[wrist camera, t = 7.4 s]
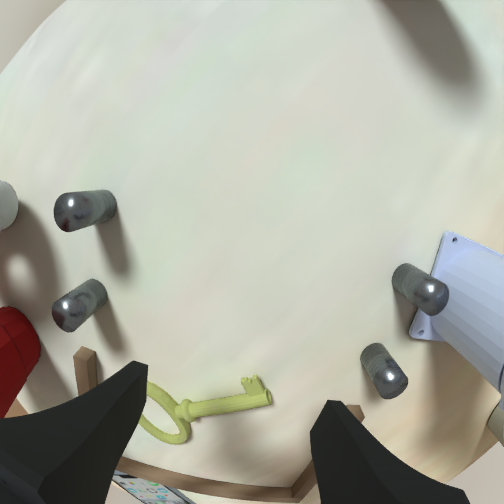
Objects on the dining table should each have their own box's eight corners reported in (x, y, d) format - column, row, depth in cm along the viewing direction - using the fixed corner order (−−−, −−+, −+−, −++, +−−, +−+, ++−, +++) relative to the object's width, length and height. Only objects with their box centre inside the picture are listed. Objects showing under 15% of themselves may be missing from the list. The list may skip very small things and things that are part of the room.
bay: (359, 405, 20) (364, 417, 18) (297, 492, 23) (299, 502, 22) (82, 346, 18) (73, 356, 17) (98, 451, 22) (93, 461, 20)
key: (278, 383, 19) (280, 402, 17) (170, 440, 21) (165, 457, 19) (210, 317, 18) (205, 333, 16) (109, 392, 20) (100, 407, 18)
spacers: (420, 266, 17) (453, 285, 13) (378, 366, 19) (399, 399, 15) (92, 187, 16) (56, 190, 12) (82, 301, 18) (52, 325, 14)
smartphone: (175, 522, 25) (103, 474, 22) (176, 516, 26) (106, 467, 23) (220, 521, 25) (150, 474, 21) (220, 515, 26) (152, 466, 22)
